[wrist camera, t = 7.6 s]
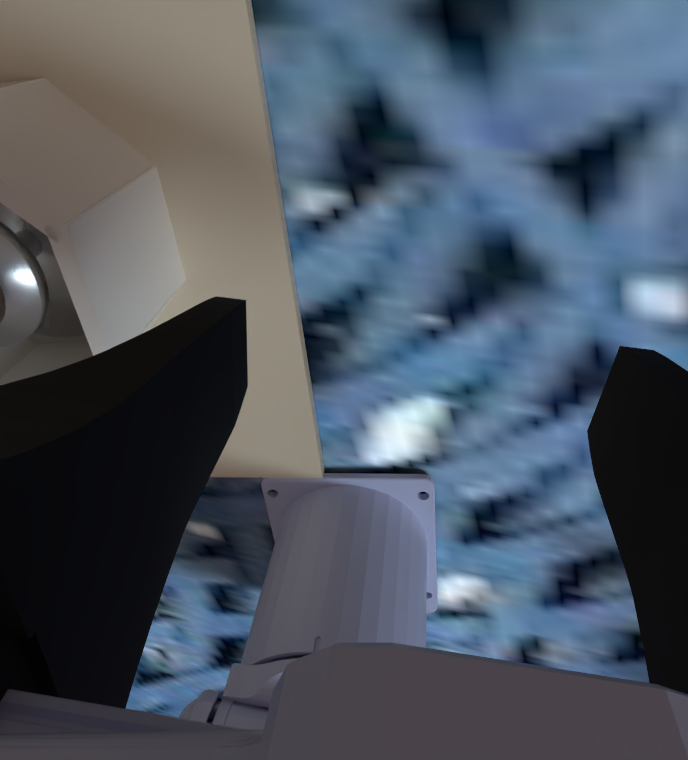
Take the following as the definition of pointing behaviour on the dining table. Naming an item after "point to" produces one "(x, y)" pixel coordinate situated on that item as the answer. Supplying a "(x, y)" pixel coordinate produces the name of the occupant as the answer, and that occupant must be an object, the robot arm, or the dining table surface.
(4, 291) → the lid
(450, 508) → the dining table surface
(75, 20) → the press stand
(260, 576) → the dining table surface
